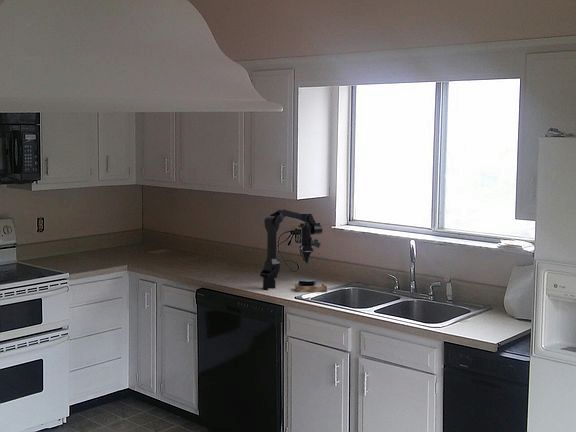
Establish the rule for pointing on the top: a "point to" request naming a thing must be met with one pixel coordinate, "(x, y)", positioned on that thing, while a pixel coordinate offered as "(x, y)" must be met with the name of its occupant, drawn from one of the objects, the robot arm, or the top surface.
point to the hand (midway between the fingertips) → (305, 262)
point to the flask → (307, 282)
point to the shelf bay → (311, 288)
